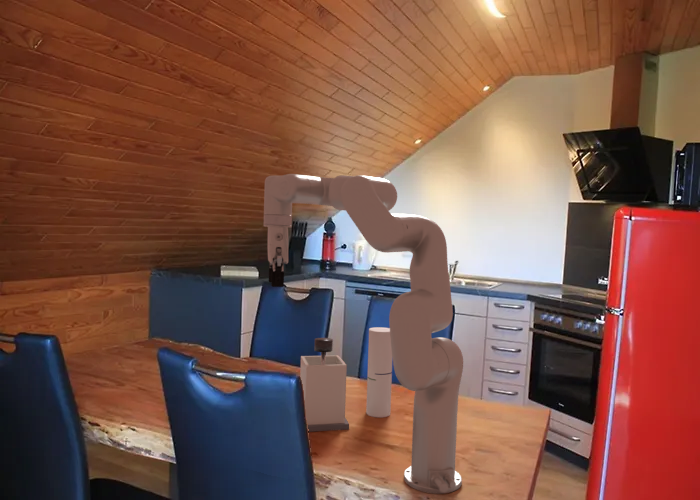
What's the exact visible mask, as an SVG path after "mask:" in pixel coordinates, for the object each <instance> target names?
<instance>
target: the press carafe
mask: <svg viewBox="0 0 700 500" xmlns="http://www.w3.org/2000/svg"><path fill="white" fill-rule="evenodd" d="M347 366H348V364H346V362H345V361H344V360H343V359H342V358H341V357H340V355H338V354H337V355H334V354H333V355H325V365H321V355H301V356H300V369H299V370H300V372H299V375H300V377H301V380H302V384H303V390H304V400H305V409H306V418H307V423H308V429H309V432H323V431H324V432H327V431H343V430H345V431H346V430H350V422H349V421H348V420H347V417H346V399H347V394H346V393H347ZM300 377H299V378H300Z"/></svg>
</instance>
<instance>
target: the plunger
mask: <svg viewBox="0 0 700 500" xmlns="http://www.w3.org/2000/svg"><path fill="white" fill-rule="evenodd" d="M333 341H334V340H333V339H332V338H330V337H317V338H314V352H318V353H321V354H320V356H321V365H325V356H326V353H331V352H333V345H334V344H333Z"/></svg>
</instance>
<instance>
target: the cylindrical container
mask: <svg viewBox="0 0 700 500" xmlns="http://www.w3.org/2000/svg"><path fill="white" fill-rule="evenodd" d="M367 347H368V348H367V349H368V352H367V379H366V380H367V381H366V382H367V383H366V405H365V406H366V410H365V414H366V415H367V416H369V417H372V418H386V417H387V418H388V417H389V416H390V415H391V410H392V409H391V406H392V405H391V404H392V379H393V378H392V376H393V357H392V347H391V336H390V327H381V326H380V327H379V326H378V327H377V326H376V327H375V326H374V327H370V328H368V346H367Z"/></svg>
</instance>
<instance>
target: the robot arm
mask: <svg viewBox="0 0 700 500" xmlns="http://www.w3.org/2000/svg"><path fill="white" fill-rule="evenodd" d="M263 193H264V195H263V196H264V197H263V198H264V199H263V200H264V202H263V227H265V228H267V261H268V263H269V268H268V282H269V283H270V284H271V287H272V288H273V287H274V288H277V287H278V288H284V285H285V271H284V264H285V265H288V263H289V228H292V224H293V223H292V221H293V220H292V217H293V204H306V205H316V206H317V205H318V206H326V207H327V206H328V207H329V206H330V207H332V208H334V209H335V210H338V211H345V212H346V213H347V214H348V216H349V217H350V219H351V220H352V222H353V224H354V225H355V226H356V228H357V229H358V231H359V233H360V234H361V235H362V237H363V238H364V240H366V242H367V244H369V246H370V247H371V248H372V249H374V250H376V251H377V252H381V253H402V252H410V253H411V254H412V257H411V260H410V264H409V281H410V291H406V292H404V293H401V294H399V295H398V296H397V297H396V298H395V299H394V301H393V303H392V304H391V307H390V310H389V316H388V317H389V319H388V321H389V322H388V323H389V328H390V336H391V347H392V367H393V370H394V375H395V376H396V378H397V380H398V382H399V383H400V385H402V386H403V388H405V389H407V390H409V391H413V392H414V398H413V414H412V437H411V438H412V439H411V442H412V443H411V465H410V466H409V467H407V468H406V469H405V470H404V473H403V480H404V482H405V483H406V484H407V485H408V486H409V487H410V488H412V489H415V490H416V491H419V492H423V493H427V494H437V495H438V494H449V493H452V492H455V491H457V490H459V489H460V487H461V486H462V484H463V483H462V482H463V477H462V475H461V474H460V473H459V472H458V471H456V457H457V456H456V454H457V450H456V448H457V429H458V428H457V427H458V412H459V411H458V409H459V393H460V387H461V386H460V385H461V383H462V377H463V372H464V371H463V369H464V356H463V352H462V350H461V349H460V347H459V345H458V344H457V343H456V342H454V341H453V340H452V339H450V338H448V337H442V336H441V337H439V336H438V337H433V338H432V334H434V333H437V332H440V331H442V330H445V329H446V328H448V327H449V326H450V324H451V322H452V321H453V316H454V313H453V312H454V311H453V302H452V293H451V292H452V291H451V290H452V289H451V282H450V273H449V264H448V246H447V245H448V244H447V241H446V240H447V239H446V237H445V234H444V232H443V230H442V228H441V227H440V226H439V225H438V224H437V223H436V222H434V221H433V220H432V219H430V218H428V217H425V216H423V215H417V214H410V213H391V212H390V211H391V210H392V209H393V208H394V206H395V205H396V203H397V201H398V192H397V189H396V186H395V185H394V184H393V183H392V182H391V181H389V180H388V179H385V178H382V177H375V176H368V175H360V174H359V175H344V174H343V175H342V174H341V175H337V176H335V177H322V176H313V175H309V174H308V175H306V174H297V173H287V174H283V175H269V176H266V178H265V179H264V192H263Z"/></svg>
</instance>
